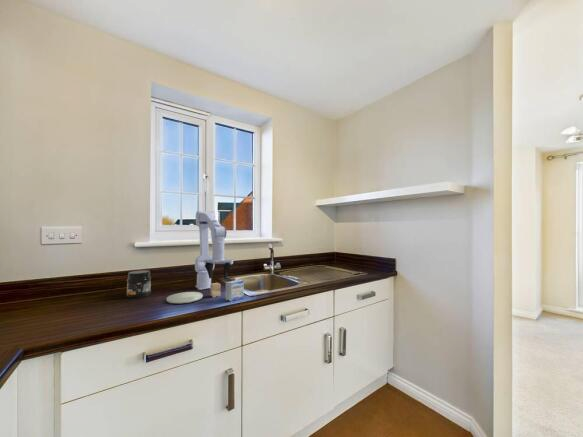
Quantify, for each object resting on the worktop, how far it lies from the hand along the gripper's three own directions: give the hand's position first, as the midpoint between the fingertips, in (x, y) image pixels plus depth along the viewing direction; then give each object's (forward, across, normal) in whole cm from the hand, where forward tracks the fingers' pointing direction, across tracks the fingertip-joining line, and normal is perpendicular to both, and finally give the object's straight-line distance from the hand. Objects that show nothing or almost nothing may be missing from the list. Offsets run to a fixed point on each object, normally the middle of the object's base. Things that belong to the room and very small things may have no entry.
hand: (218, 278), depth 121 cm
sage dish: (+10, -15, -5) cm, 18 cm away
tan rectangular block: (+10, -3, +3) cm, 11 cm away
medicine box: (+10, +9, -1) cm, 13 cm away
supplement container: (+10, -42, -1) cm, 43 cm away
